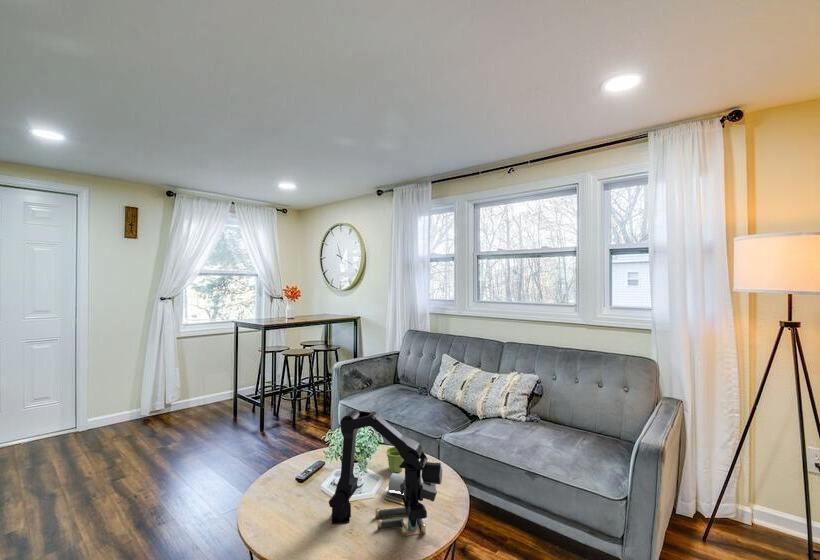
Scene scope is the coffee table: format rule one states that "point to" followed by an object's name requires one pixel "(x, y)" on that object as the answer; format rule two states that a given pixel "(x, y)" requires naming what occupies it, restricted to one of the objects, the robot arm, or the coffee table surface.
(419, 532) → the pad
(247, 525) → the coffee table surface
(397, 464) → the plant pot
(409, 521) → the peg
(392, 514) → the metal rail track
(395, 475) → the ceramic mug
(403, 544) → the coffee table surface
